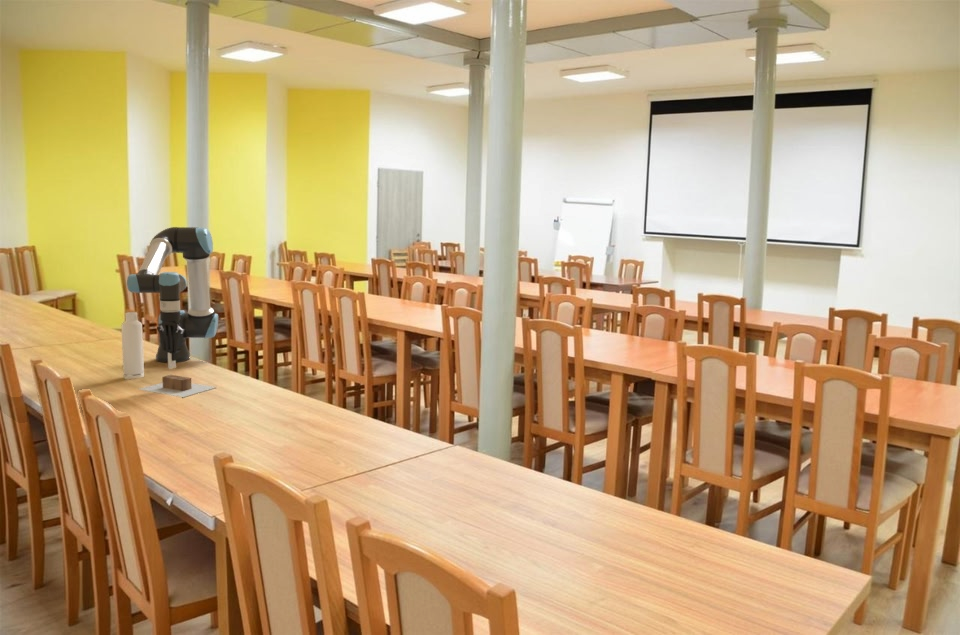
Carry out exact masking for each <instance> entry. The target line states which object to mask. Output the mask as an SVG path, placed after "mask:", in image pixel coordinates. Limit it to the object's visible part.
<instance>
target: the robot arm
mask: <svg viewBox="0 0 960 635" xmlns="http://www.w3.org/2000/svg"><path fill="white" fill-rule="evenodd" d="M213 250H214V242H213V237H212V234H211V231H210V230H209V229H207V228H206V227H193V226H191V227H190V226H189V227H182V226H181V227H179V226H178V227H177V226H173V227H168V228H165V229H163V230H161V231H160V232H158V233H156V234H155V235H154V236H153V238H152V239H151V240H150V242H149V250H148V252H147V254H146V256H145V258H144V260H143V262H142V264H141V266H140V268H139V270H138V271H137V273H134V274H132V273H131V274H129V275H128V276H127V279H126V287H127V290H128V292H130V293H134V294H135V293H137V294H140V293H141V294H150V293H151V294H153V293H154V294H159V310H160V313H159V315H158V326H156V330H157V332H158V341H159V343H158V348H157V352H156V355H155V360H156V362H160V363H167V369H169V370H173V369H176V368H177V363H180V362H185V361H189V360H190V359H191V354H190V352H189V349H188V345H187V342H186V339H207V338H209V339H210V338H214V337H215V336H216V334H217V331H218V326H219V314H218V313H216V312H215V309H214V308H213V307H211V301H210V300H211V299H210V298H211V296H210V287H209V286H210V285H209V274H208V262H207V260H208V259H209V258H210V257H211V256H210V255H211V254H212V253H213ZM175 253H176V254H177V253H178V254H182V258H183V259H184V260H185V261H186V267H187V278H188V279H187V278H186V277H185V276H184V275H183V274H179V273H178V272H176V271H164V272H161V269H162V267H163V266H164V263H165V260H166V259H167V257H169V256H170V255H171V254H175ZM187 280H188V281H187ZM187 286H188V290H189V299H190V300H189V301H190V308H189V310H188V311H187V313H186V311H185V310H183V309H181V297H180V296H181V295H180V294H181V292H184V290H186V289H187ZM189 357H190V358H189Z"/></svg>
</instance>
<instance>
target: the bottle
mask: <svg viewBox="0 0 960 635" xmlns="http://www.w3.org/2000/svg"><path fill="white" fill-rule="evenodd" d="M124 316H125V321H123V322H122V323H121V339H122V340H121V342H122V343H121V346H122V368H123V379H125V380H132V379H134V380H135V379H140V378H143V377H145V365H144V364H145V363H144V340H143V339H144V337H143V324H142V322H141V321H139V319H138V312H137V311H128V312H125V314H124Z"/></svg>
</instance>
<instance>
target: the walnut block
mask: <svg viewBox="0 0 960 635" xmlns="http://www.w3.org/2000/svg"><path fill="white" fill-rule="evenodd" d="M162 383H163V388H168V389H174V390H179V391H185V390H189V389H192V386H191V383H192V377H188V376H181V375H176V374H169V375H165V376H162Z"/></svg>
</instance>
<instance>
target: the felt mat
mask: <svg viewBox="0 0 960 635" xmlns="http://www.w3.org/2000/svg"><path fill="white" fill-rule="evenodd" d="M191 386H192V389H189V390H185V391H179V390H174V389H168V388H163V382H160V383H157V384H152V385H149V386H145V387H142V388H138V390H140V391H145V392H150V393H156V394H161V395H168V396H174V397H179V398H181V399H185V398H188V397H191V396H195V395H198V393H199V394H201V393H205V392H208V391H211V390H215V389H217V386H212V385H211V386H210V385H205V384H198V383H193V382H191Z"/></svg>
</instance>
